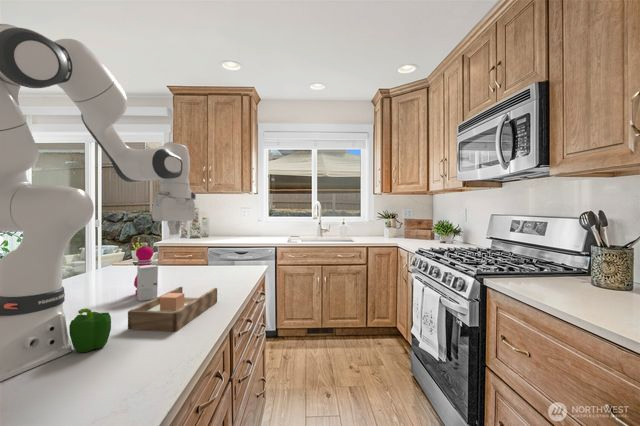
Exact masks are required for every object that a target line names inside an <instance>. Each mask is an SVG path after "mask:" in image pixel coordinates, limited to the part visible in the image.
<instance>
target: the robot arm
mask: <svg viewBox="0 0 640 426" xmlns="http://www.w3.org/2000/svg"><path fill="white" fill-rule="evenodd" d="M55 85H57V86H58V87H59V88H60V89H62V91H63V92H64V93H65V95H67V97H68V98H69V99H70V100H71V101H72V102H73V103H74V104H75V106H76V107H77V108H78V110H79V111H80V113H81V114H80V115H81V118H80V119H81V121H82V123H83V124H84V126H85V128H86V130H87V131H88V133H89V134H90V135H91V136H92V138H93V139H94V141H95V142H96V143H97V144H98V146H99V147H100V148H101V150H102V151H103V152H104V153H105V156H107V158H108V159H109V161H110V163H111V164H112V167H113V168H114V169H113V170H114V171H115V173H116V174H117V176H118V177H119V178H120V179H122V180H123V181H125V182H127V183H135V182H142V181H144V182H145V181H149V182H150V181H160V190H159V191H158V192H157V194H156V195H155V197H154V199H153V203H152V211H151V218H152V221H153V222H166V223H167V227H168V229H169V235H170V236H178V235H179V234H180V229H181V227H182V225H183V224H182V222H184V221H185V222H187V221H189V222H190V221H193V220H194V219H195V213H196V203H195V200H196V199H197V195H196V193H195V192H194V191H193V190H192V189H191V188H190V186H191V185H190V172H191V160H190V152H189V149H188V147H187V146H186V145H184V144H182V143H179V142H173V141H168V142H165V143H164V144H163V145H161V146H158V147H153V148H145V149H144V148H141V149H137V148H132V147H130V146H128V145H127V144H126V143H125V142H124V140H123V139H122V137H121V136H120V134H119V132H118V131H117V129H116V128H115V126H114V124H115V123H117V122H118V121H119V120H120V119H121V118H122V117H123V116H124V115H125V113H126V111H127V108H128V96H127V94H126V92H125V91H124V89H123V87H122V86H121V84H120V83H119V82H118V81H117V79H116V78H115V76H114V75H113V73H111V71H110V70H109V69H108V68H107V66H106V65H105V64H104V63H103V62H102V61H101V59H100V58H99V57H98V56H96V54H95V53H94V52H93V51H92V50H91V49H89V47H87V45H86V44H84V43H82V41H80V40H77V39H74V38H61V39H57V40H54V41H53V40H51V39H50V38H48V37H46V36H45V35H42V34H41V33H40V32H39V33H38V32H37V31H35V30H31V29H28V28H24V27H18V26H16V25H12V24H7V23H0V232H13V233H15V232H21V233H23V234H22V239H21V241H20V243H19V244H18V246H17V248H15V249H12V250H11V251H10V252H8V253H6V254H5V255H3V256H2V257H1V258H0V382H3V381H5V380H7V379H9V378H12V377H14V376H16V375H19V374H22V373H24V372H26V371H28V370H31V369H33V368H36V367H39V366H40V365H43V364H45V363H47V362H49V361H52V360H55V359H57V358H60V357H62V356H64V355H66V354H69V353H70V352H72V351H73V348H72V347H73V346H72V345H71V344H72V341H71V338H70V335H69V333H68V327H67V320H66V314H65V311H64V305H63V303H64V302H65V298H66V297H65V296H66V293H65V287H64V286H63V268H64V266H63V265H64V257H65V256H64V255H65V253H66V250H67V247H68V245H69V243H70V242H71V240H72V238H73V237H74V236H75V235H76V234H77V233H78V232H79V231H80V230H82V229H83V228H85V227H86V226H87V225H88V224H89V222H91V219H92V218H93V215H94V210H95V209H94V208H95V207H94V202H93V200H92V198H91V196H90V195H89V194H88V193H87V191H85V190H83V189H81V188H78V187H77V188H76V187H72V186H66V185H62V184H32V183H30V181H29V180H28V176H27V171H28V170H30V169H31V168H33V167H34V166H35V165H36V164H37V162H38V161H39V157H40V151H39V148H38V146H37V144H36V141H35V139H34V136H33V133H32V132H31V129H30V128H29V125H28V122H27V121H26V118H25V115H24V114H23V111H22V109H21V107H20V102H19V92H20V89H21V87H24V88H30V89H45V88H49V87H52V86H55Z"/></svg>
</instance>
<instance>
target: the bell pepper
mask: <svg viewBox="0 0 640 426" xmlns="http://www.w3.org/2000/svg"><path fill="white" fill-rule="evenodd" d="M77 312H78V313H79V314H77V315H76V316H75V317H74V318H73V319H72V320H71V321H70V323H69V325H68V326H69V327H68V328H69V333H68V334H69V339H70V341H71V344H72V347H73V349H74V350H75V351H76V352H77V353H87V352H90V351H92V350H96V349H101V348H102V347H105V345H106V344H107V343H108V341H109V337H110V334H111V330H112V316H111V315H110V313H109V312H101V313H100V312H97V311H92V310H91V309H89V308H86V307H85V308H80V309H79V310H78V311H77ZM84 313H86V314H84Z"/></svg>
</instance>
